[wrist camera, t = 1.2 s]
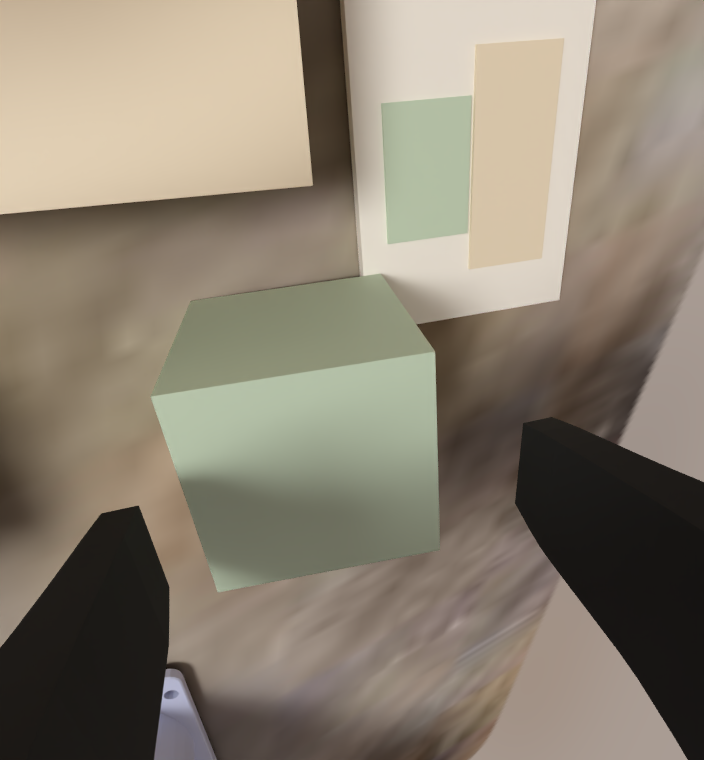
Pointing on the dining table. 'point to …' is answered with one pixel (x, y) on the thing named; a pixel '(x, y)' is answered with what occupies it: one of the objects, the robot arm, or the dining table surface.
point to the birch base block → (148, 101)
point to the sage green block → (303, 429)
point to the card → (465, 146)
